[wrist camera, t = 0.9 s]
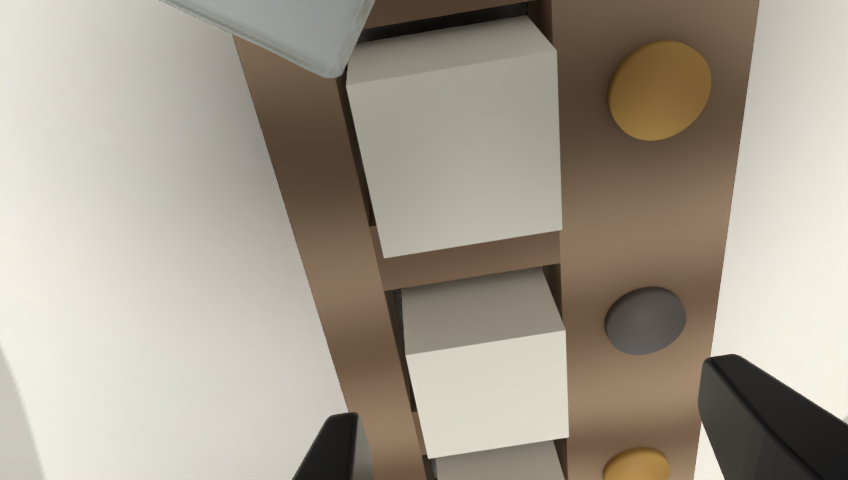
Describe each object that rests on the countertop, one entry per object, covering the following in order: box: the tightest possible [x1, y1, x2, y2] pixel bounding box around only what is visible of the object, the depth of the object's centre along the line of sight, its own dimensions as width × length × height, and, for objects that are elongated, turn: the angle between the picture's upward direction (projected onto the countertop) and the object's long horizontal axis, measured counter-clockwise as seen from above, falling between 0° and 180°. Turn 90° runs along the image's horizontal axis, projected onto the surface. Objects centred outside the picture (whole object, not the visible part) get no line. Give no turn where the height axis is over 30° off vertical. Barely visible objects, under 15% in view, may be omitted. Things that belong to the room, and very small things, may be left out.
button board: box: [232, 0, 759, 480], centre depth 22 cm, size 23×13×3 cm, turn 8°
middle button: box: [401, 266, 569, 459], centre depth 21 cm, size 5×5×3 cm
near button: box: [346, 15, 562, 258], centre depth 16 cm, size 5×5×3 cm
